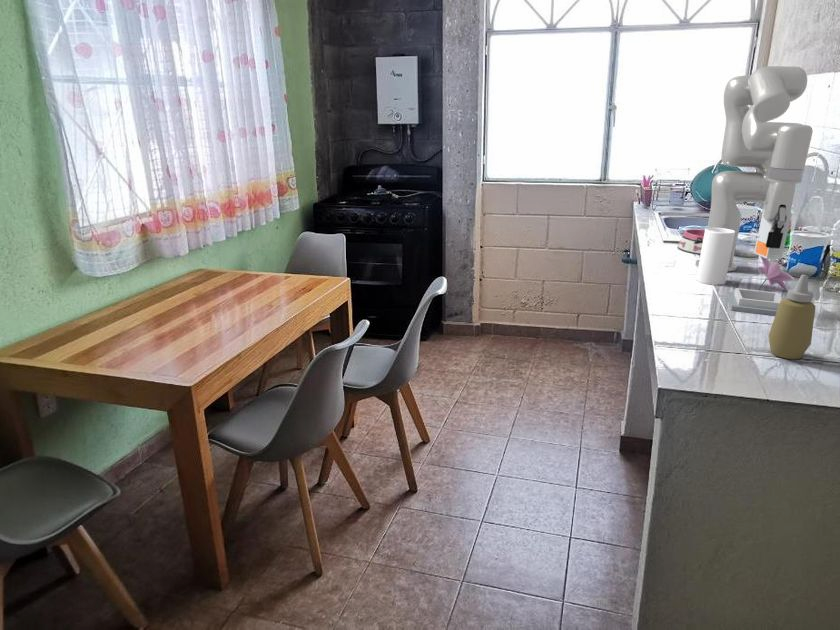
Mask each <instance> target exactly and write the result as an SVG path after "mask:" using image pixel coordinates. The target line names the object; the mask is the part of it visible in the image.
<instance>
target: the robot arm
mask: <svg viewBox="0 0 840 630" xmlns="http://www.w3.org/2000/svg"><path fill="white" fill-rule="evenodd" d="M807 85H808V75H807V72H806V71H805V69H803V68H802V67H801V66H778V65H775V66H774V65H772V66H771V65H769V66H762V67H759V68H757V69H756V70H754V71H753V72H752V73H751V74H750V75H749V74H748V75H740V76H739V75H738V76H735V77H733V78H731V79H730V80H728V82H727V83H726V85H725V89H724V94H723V106H724V114H725V127H724V128H725V129H724V135H723V142H722V150H721V162H722V164H723V165H725V166H728V167H735V168H755V169H756V171H745V170H743V171H742V170H739V171H738V170H726V171H725V170H724V171H721V172H718V173H717V174H715V175H714V176H713V178H712V180H711V200H710V209H709V216H708V222H707V227H706V228H725V229H730V230H734V231H735V236H734V241H733V246H732V251H731V256H730V261H729V266H728V271H727V272H734V271H736V270H737V268H738V265H737V264H735V263H733V262H734V258H735V253H736V252H735V251H736V248H737V242H738V237H739V232H740V227H741V222H742V213H741V211H740V209H739V207H738V206H737V203H763V207H762V211H761V214H762V213H763V210H764V215H763V217H764V218H765V219H766V220H767V221H769V220H772V221H771V230H770V232H769V233H768V237H767V242H766V247H767V248H780V245H781V241H782V237H783V231H784V222H787V221H788V219H789V216H790V213H792V212H791V211H792V206H793V203H794V198H795V197H794V196H795V192H796V187H797V184H802V180H803V177H804V176H803V175H804V171H805V167H806V161H807V158H808V154H809V149H810V145H811V141H812V138H813V137H812V136H813V132H814V131H813V127H812V126H810V125H807V124H802V123H798V122H781V121H780V122H775V121H774V122H772V121H773V120H775V119H778V118H780V117H781V116H782V115H784V114H785V113H786V112H787V110H788V109H790V104H791V103H792V102H794V101H795V100H797V99H799V98H800V97H801V96H802V95H803V94H804V93H805V91H806V89H807ZM777 213H778V220H774V218H775V216H776V214H777ZM785 216H786V217H787V218H786V219H785ZM785 220H786V221H785ZM774 223H776V224H775V225H774ZM699 261H700V259H697V260H696V261H695V266H697V267H698V266H699Z"/></svg>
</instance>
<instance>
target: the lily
mask: <svg viewBox="0 0 840 630" xmlns="http://www.w3.org/2000/svg"><path fill="white" fill-rule="evenodd" d="M760 258H761V261H762V264H763V266H758V267H756V268H755V269H756V270H758V271H759V272H761V273H762V274H764V275H765V276H766V278H765V279H764V281H763V282H762V284H761V285H760V287H759V288H758V291H761V290H762V287H763V285H764V284H765V282H766V281H767V280H768V283H769V285H770V284H771V286H773V285H779V286H780V287H781V289H783V290H784V291H785V292H788V289H787V286H786V284H785V282H792V281H796V278H794V277H793V276H792V275H791V274H789V273H788V272H786V271H783V270H781V267H780V264H779V262H777V261H776V262H774V263H773V262H771V261H770V259H766V258H764V257H762V256H760Z"/></svg>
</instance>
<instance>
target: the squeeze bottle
mask: <svg viewBox="0 0 840 630" xmlns="http://www.w3.org/2000/svg"><path fill="white" fill-rule="evenodd" d="M813 298H814V293H813V292H811V291H809V275H808V274H801V275H800V277H799V279H798V281H797V282H796V285H795V287H794V288H790V289H787V293H786V298H782V299H783V300H781V301H780V304H779V307H778V310H777V312H776V315H775V316H774V319H773V320H772V324H771V327H770V329H769V333H768V342H769V349H770V353H771V354H772V355H775V356H777V357H780V358H782V359H787V360H799V359H801V358H802V357H803V355H804V354H805V353H806V352H807V350H808V349H809V347H810V346H811V344H812V337H813V329H814V322H815V314H816V305H815V303H813V302H812V301H813Z"/></svg>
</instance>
